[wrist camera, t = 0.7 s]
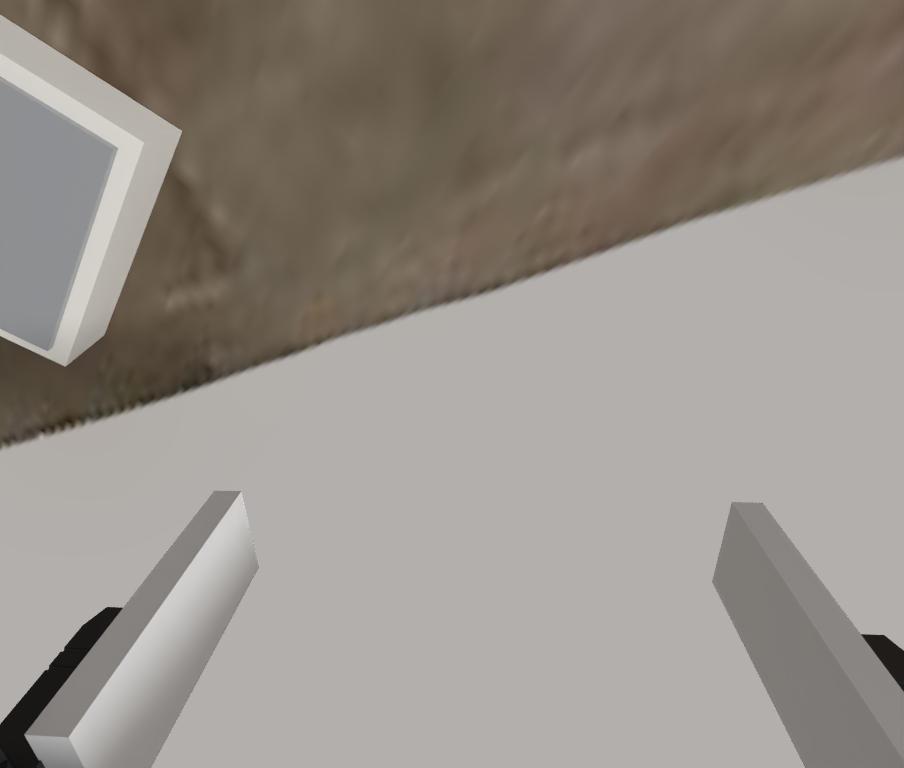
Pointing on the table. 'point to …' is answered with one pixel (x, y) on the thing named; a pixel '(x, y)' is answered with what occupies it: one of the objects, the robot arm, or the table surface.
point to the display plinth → (69, 195)
